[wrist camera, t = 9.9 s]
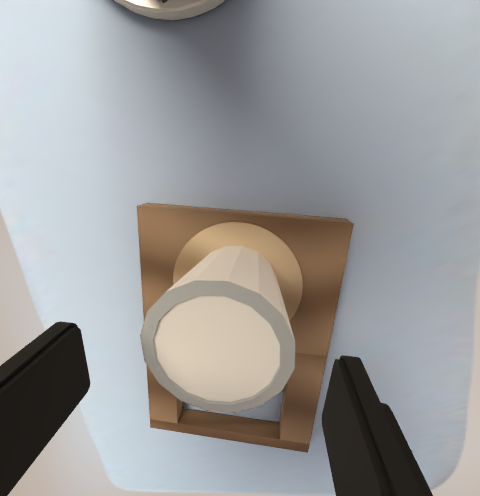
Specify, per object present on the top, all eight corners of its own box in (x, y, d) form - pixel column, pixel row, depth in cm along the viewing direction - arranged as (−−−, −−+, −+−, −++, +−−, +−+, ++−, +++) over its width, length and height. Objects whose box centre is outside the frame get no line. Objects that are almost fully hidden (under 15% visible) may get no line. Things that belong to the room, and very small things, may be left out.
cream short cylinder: (202, 333, 19) (166, 420, 13) (175, 246, 17) (116, 295, 11) (294, 320, 18) (309, 409, 11) (275, 226, 16) (279, 266, 10)
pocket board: (147, 202, 19) (134, 206, 17) (346, 218, 17) (355, 224, 16) (157, 412, 25) (149, 430, 23) (305, 435, 23) (308, 456, 22)
